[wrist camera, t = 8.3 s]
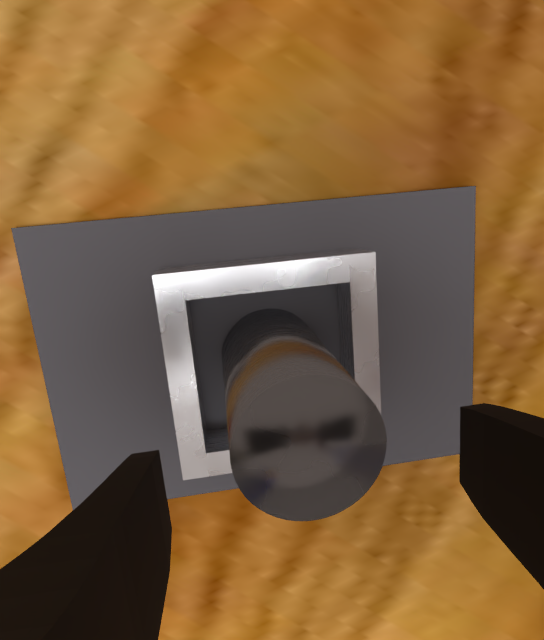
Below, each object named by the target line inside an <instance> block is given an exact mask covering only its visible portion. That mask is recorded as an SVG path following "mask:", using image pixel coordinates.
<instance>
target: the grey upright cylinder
mask: <svg viewBox="0 0 544 640" xmlns="http://www.w3.org/2000/svg"><path fill="white" fill-rule="evenodd" d="M222 366H223V379H224V391H225V403H226V416H227V428H228V441H229V453H230V464H231V469H232V473H233V476H234V479H235V481H236V483H237V485H238V487H239V489H240V490H241V492H242V493H243V494H244V496H245V497H246V498H247V499H248V500H249V501H250V502H251V503H252V504H253V505H255V506H256V507H257V508H259V509H260V510H262V511H264V512H265V513H267V514H270V515H272V516H275V517H277V518H281V519H285V520H292V521H311V520H318V519H322V518H326V517H329V516H332V515H335V514H337V513H339V512H341V511H343V510H345V509H346V508H348V507H350V506H351V505H353V504H354V503H355V502H356V501H358V500H359V499H360V498H361V497H362V496H363V495H364V494H365V493H366V492H367V491H368V490H369V488H370V487H371V486H372V485H373V483H374V482H375V480H376V478H377V477H378V475H379V473H380V470H381V468H382V466H383V462H384V459H385V454H386V447H387V437H386V429H385V425H384V421H383V419H382V416H381V414H380V412H379V410H378V408H377V407H376V405H375V404H374V403H373V401H372V400H371V399H370V398H369V396H368V395H367V394H366V393H365V392H364V391H363V389H362V388H361V387H360V386H359V385H358V384H357V382H356V381H355V380H354V379H353V378H352V377H351V375H350V374H349V373H348V372H347V371H346V370H345V368H344V367H343V366H342V365H341V364H340V363H339V361H338V360H337V359H336V358H335V357H334V356H333V354H332V353H331V352H330V351H329V350H328V349H327V347H326V346H325V345H324V344H323V343H322V342H321V340H320V339H319V338H318V337H317V336H316V335H315V333H314V332H313V331H312V330H311V329H310V328H309V327H308V325H307V324H306V323H305V322H304V321H303V320H302V319H301V318H299V317H298V316H296V315H295V314H293V313H291V312H288V311H285V310H281V309H273V308H271V309H261V310H257V311H254V312H252V313H250V314H247V315H246V316H244V317H243V318H241V319H240V320H239V321H238V322H237V323H236V324H235V325H234V326H233V327H232V328H231V330H230V331H229V333H228V334H227V336H226V338H225V341H224V344H223V349H222Z"/></svg>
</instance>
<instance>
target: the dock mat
mask: <svg viewBox="0 0 544 640" xmlns="http://www.w3.org/2000/svg"><path fill="white" fill-rule="evenodd" d="M475 195H476V186H469V187H458V188H448V189H437V190H426V191H415V192H404V193H393V194H382V195H371V196H360V197H349V198H338V199H327V200H316V201H305V202H294V203H283V204H272V205H261V206H250V207H239V208H228V209H218V210H207V211H196V212H185V213H174V214H163V215H152V216H141V217H130V218H119V219H108V220H97V221H86V222H75V223H64V224H53V225H42V226H31V227H20V228H11V229H12V233H13V238H14V242H15V247H16V251H17V256H18V261H19V265H20V270H21V274H22V279H23V283H24V288H25V293H26V297H27V302H28V306H29V311H30V315H31V320H32V325H33V329H34V334H35V338H36V343H37V347H38V352H39V357H40V361H41V366H42V370H43V375H44V379H45V384H46V389H47V393H48V398H49V402H50V407H51V411H52V416H53V421H54V425H55V430H56V434H57V439H58V443H59V448H60V453H61V457H62V462H63V466H64V471H65V475H66V480H67V485H68V489H69V494H70V498H71V503H72V507H73V510H74V509H75V508H76V507H78V506H79V505H80V504H81V503H82V502H83V501H84V500H85V499H86V498H87V497H88V496H89V495H90V494H91V493H92V492H93V491H94V490H95V489H96V488H97V487H98V486H99V485H100V484H101V483H102V482H103V481H104V480H105V479H106V478H107V477H108V476H109V475H110V474H111V473H112V472H113V471H114V470H115V469H116V468H117V467H118V466H119V465H120V464H121V463H122V462H123V461H124V460H125V459H126V458H127V457H129V456H130V455H131V454H133V453H140V452H147V451H154V450H159V453H160V459H161V465H162V471H163V477H164V484H165V490H166V496H167V499H171V498H178V497H184V496H191V495H197V494H204V493H210V492H217V491H223V490H230V489H236V488H239V487H238V485H237V483H236V481H235V479H234V476H233V473H229V474H222V475H216V476H209V477H203V478H196V479H189V480H183V477H182V470H181V464H180V457H179V451H178V444H177V437H176V431H175V424H174V418H173V411H172V404H171V398H170V391H169V385H168V378H167V371H166V365H165V358H164V352H163V345H162V338H161V332H160V325H159V319H158V312H157V305H156V299H155V292H154V285H153V279H152V275H153V274H154V272H155V271H156V270H157V269H158V268H167V267H177V266H186V265H196V264H206V263H216V262H225V261H235V260H245V259H254V258H264V257H274V256H283V255H293V254H303V253H312V252H322V251H332V250H342V249H351V248H362V249H366V250H370V251H374V252H376V280H377V309H378V337H379V365H380V393H381V416H382V419H383V421H384V425H385V429H386V437H387V447H386V454H385V459H384V462H383V466H385V465H391V464H398V463H404V462H411V461H417V460H423V459H430V458H436V457H443V456H449V455H456V454H460V407H462V406H469V405H472V394H473V328H474V262H475ZM189 305H190V312H191V320H192V327H193V335H194V342H195V350H196V357H197V365H198V372H199V379H200V387H201V394H202V402H203V409H204V417H205V424H206V430H208V429H215V428H222V427H227V416H226V403H225V391H224V379H223V366H222V349H223V344H224V341H225V338H226V336H227V334H228V333H229V331H230V330H231V328H232V327H233V326H234V325H235V324H236V323H237V322H238V321H239V320H240V319H241V318H243V317H244V316H246V315H247V314H250V313H252V312H254V311H257V310H261V309H271V308H273V309H281V310H285V311H288V312H291V313H293V314H295V315H296V316H298V317H299V318H301V319H302V320H303V321H304V322H305V323H306V324H307V325H308V327H309V328H310V329H311V330H312V331H313V332H314V333H315V335H316V336H317V337H318V338H319V339H320V340H321V342H322V343H323V344H324V345H325V346H326V347H327V349H328V350H329V351H330V352H331V353H332V354H333V356H334V357H335V358H336V359H337V360H338V361H339V363H340V364H341V358H340V340H339V322H338V304H337V287H336V284H328V285H319V286H310V287H301V288H292V289H283V290H274V291H265V292H256V293H247V294H238V295H229V296H220V297H211V298H202V299H193V300H189Z"/></svg>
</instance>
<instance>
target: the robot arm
mask: <svg viewBox="0 0 544 640" xmlns="http://www.w3.org/2000/svg"><path fill="white" fill-rule="evenodd" d="M460 483H461V485H462V487H463V488H464V490H465V492H466V493H467V495H468V496H469V498H470V500H471V501H472V503H473V504H474V506H475V507H476V509H477V510H478V512H479V513H480V515H481V516H482V518H483V519H484V520H485V521H486V522H487V524H488V525H489V526H490V527H491V528H492V530H493V531H494V532H495V533H496V534H497V536H498V537H499V538H500V539H501V540H502V541H503V543H504V544H505V545H506V546H507V547H508V548H509V550H510V551H511V552H512V553H513V554H514V555H515V557H516V558H517V559H518V560H519V561H520V562H521V563H522V565H523V566H524V567H525V568H526V569H527V570H528V572H529V573H530V574H531V575H532V576H533V577H534V578H535V580H536V581H537V582H538V583H539V584H540V585H541V587H542V588H543V589H544V418H541V417H537V416H534V415H530V414H527V413H524V412H520V411H516V410H513V409H509V408H505V407H501V406H496V405H491V404H485V403H483V404H476V405H469V406H462V407H460ZM171 534H172V527H171V521H170V514H169V508H168V502H167V496H166V490H165V484H164V477H163V471H162V465H161V459H160V453H159V450H154V451H147V452H140V453H133V454H131V455H130V456H129V457H127V458H126V459H125V460H124V461H123V462H122V463H121V464H120V465H119V466H118V467H117V468H116V469H115V470H114V471H113V472H112V473H111V474H110V475H109V476H108V477H107V478H106V479H105V480H104V481H103V482H102V483H101V484H100V485H99V486H98V487H97V488H96V489H95V490H94V491H93V492H92V493H91V494H90V495H89V496H88V497H87V498H86V499H85V500H84V501H83V502H82V503H81V504H80V505H79V506H78V507H76V508H75V509H74V510H73V511H72V512H71V513H70V514H69V515H67V516H66V517H65V518H64V519H63V520H62V521H61V522H60V523H58V524H57V525H56V526H55V527H54V528H53V529H52V530H51V531H50V532H48V533H47V534H46V535H45V536H43V537H42V538H41V539H40V540H39V541H37V542H36V543H35V544H33V545H32V546H31V547H30V548H28V549H27V550H26V551H24V552H23V553H22V554H20V555H19V556H18V557H16V558H15V559H14V560H12V561H11V562H10V563H8V564H7V565H6V566H4V567H3V568H1V569H0V640H158V636H159V630H160V625H161V619H162V613H163V607H164V602H165V596H166V590H167V584H168V578H169V572H170V556H171Z"/></svg>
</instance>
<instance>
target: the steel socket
mask: <svg viewBox="0 0 544 640" xmlns="http://www.w3.org/2000/svg"><path fill="white" fill-rule="evenodd" d="M152 279H153V285H154V292H155V299H156V305H157V312H158V319H159V325H160V332H161V338H162V345H163V352H164V358H165V365H166V371H167V378H168V385H169V391H170V398H171V404H172V411H173V418H174V424H175V431H176V437H177V444H178V451H179V457H180V464H181V470H182V477H183V480H189V479H196V478H203V477H209V476H216V475H222V474H229V473H232V469H231V464H230V453H229V441H228V428H227V427H222V428H215V429H208V430H206V424H205V417H204V409H203V402H202V394H201V387H200V379H199V372H198V365H197V357H196V350H195V342H194V335H193V327H192V320H191V312H190V305H189V300H193V299H202V298H211V297H220V296H229V295H238V294H247V293H256V292H265V291H274V290H283V289H292V288H301V287H310V286H319V285H328V284H336V287H337V304H338V322H339V340H340V358H341V365H342V366H343V367H344V368H345V370H346V371H347V372H348V373H349V374H350V375H351V377H352V378H353V379H354V380H355V381H356V382H357V384H358V385H359V386H360V387H361V388H362V389H363V391H364V392H365V393H366V394H367V395H368V396H369V398H370V399H371V400H372V401H373V403H374V404H375V405H376V407H377V408H378V410H379V412H380V414H381V393H380V365H379V337H378V309H377V280H376V252H374V251H370V250H366V249H362V248H351V249H342V250H332V251H322V252H312V253H303V254H293V255H283V256H274V257H264V258H254V259H245V260H235V261H225V262H216V263H206V264H196V265H186V266H177V267H167V268H158V269H157V270H156V271H155V272H154V274H153V275H152Z"/></svg>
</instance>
